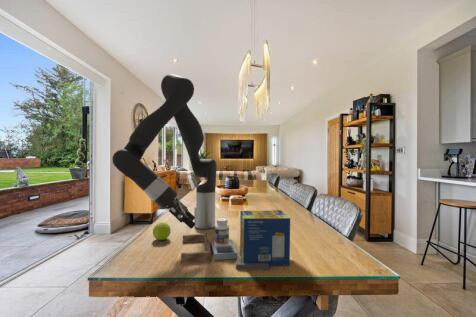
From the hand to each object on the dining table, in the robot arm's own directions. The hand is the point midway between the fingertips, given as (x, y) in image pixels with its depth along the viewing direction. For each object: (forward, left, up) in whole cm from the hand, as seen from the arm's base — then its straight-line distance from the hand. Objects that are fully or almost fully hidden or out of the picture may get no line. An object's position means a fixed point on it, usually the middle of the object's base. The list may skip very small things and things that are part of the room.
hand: (193, 223), depth 86 cm
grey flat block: (+24, -2, -10) cm, 26 cm away
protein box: (+26, +4, -10) cm, 28 cm away
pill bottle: (+9, +6, -8) cm, 13 cm away
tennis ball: (-18, +4, -10) cm, 21 cm away
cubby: (+1, +1, -10) cm, 10 cm away
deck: (+11, +3, -10) cm, 15 cm away
